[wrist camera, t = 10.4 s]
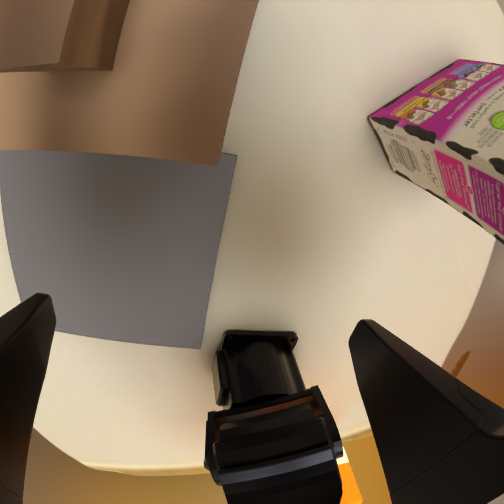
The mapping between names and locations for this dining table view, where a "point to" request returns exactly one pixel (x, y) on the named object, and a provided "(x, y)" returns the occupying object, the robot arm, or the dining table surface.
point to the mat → (116, 240)
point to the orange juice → (348, 482)
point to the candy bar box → (452, 139)
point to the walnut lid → (121, 75)
